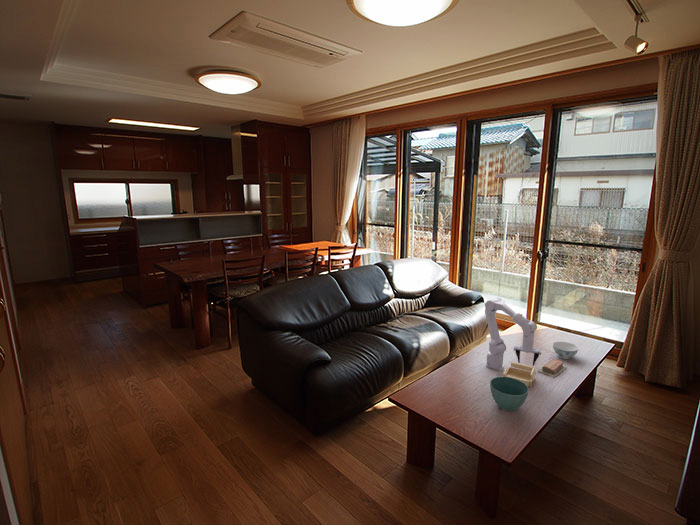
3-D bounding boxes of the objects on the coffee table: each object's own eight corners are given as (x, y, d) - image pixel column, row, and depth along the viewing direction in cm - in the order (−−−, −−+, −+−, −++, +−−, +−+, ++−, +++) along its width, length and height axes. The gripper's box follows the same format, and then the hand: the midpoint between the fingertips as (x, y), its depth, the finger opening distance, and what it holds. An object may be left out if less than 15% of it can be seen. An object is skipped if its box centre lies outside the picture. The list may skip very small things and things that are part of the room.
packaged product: (550, 356, 236) (567, 362, 229) (549, 363, 237) (566, 369, 230) (538, 365, 225) (555, 371, 217) (537, 372, 226) (554, 378, 218)
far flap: (532, 380, 208) (530, 374, 208) (534, 373, 217) (533, 367, 217) (533, 380, 208) (531, 374, 208) (536, 373, 216) (534, 367, 216)
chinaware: (582, 361, 238) (583, 350, 236) (559, 361, 238) (560, 350, 237) (569, 351, 252) (570, 341, 251) (547, 352, 253) (548, 341, 251)
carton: (501, 380, 216) (502, 375, 216) (506, 371, 227) (506, 366, 226) (530, 387, 208) (531, 382, 207) (534, 378, 218) (534, 372, 217)
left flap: (510, 366, 225) (510, 362, 223) (511, 365, 225) (511, 361, 224) (532, 371, 218) (532, 367, 217) (532, 370, 219) (532, 366, 217)
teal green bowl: (534, 413, 184) (536, 391, 181) (504, 420, 179) (506, 397, 176) (509, 394, 201) (511, 374, 198) (481, 400, 196) (482, 379, 193)
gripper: (514, 342, 212) (512, 363, 214) (542, 346, 205) (540, 369, 208) (514, 337, 218) (513, 359, 221) (542, 342, 211) (539, 363, 214)
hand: (526, 363), depth 215 cm, fingers open, 7 cm apart
